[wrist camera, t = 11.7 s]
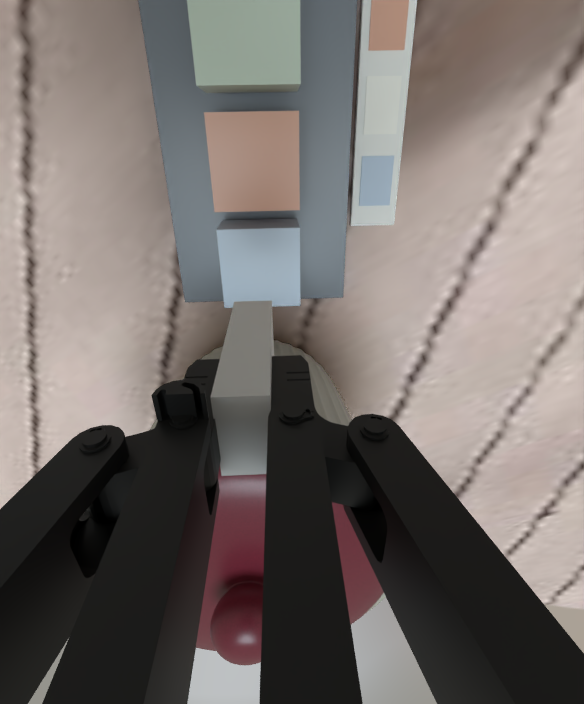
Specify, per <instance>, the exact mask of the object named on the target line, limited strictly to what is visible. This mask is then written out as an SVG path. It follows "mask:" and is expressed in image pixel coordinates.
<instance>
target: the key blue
mask: <svg viewBox="0 0 584 704" xmlns="http://www.w3.org/2000/svg"><path fill="white" fill-rule="evenodd" d="M216 232H217V241H218V251H219V260H220V270H221V279H222V289H223V298H224V308H233V304H234V302H238V301H272V307H274V306H300V226H299V223H298V220H297V219H259V220H222V222H221V223H220V225H219V226H218V228H217V230H216Z"/></svg>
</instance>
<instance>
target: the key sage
mask: <svg viewBox="0 0 584 704" xmlns="http://www.w3.org/2000/svg"><path fill="white" fill-rule="evenodd" d="M187 6H188V15H189V24H190V33H191V42H192V51H193V60H194V70H195V79H196V86H197V87H199V88H200V89H202V90H203V91H204V92H206V93H238V92H297V91H298V89H299V87H300V84H301V46H300V0H187Z"/></svg>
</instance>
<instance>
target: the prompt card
mask: <svg viewBox="0 0 584 704" xmlns="http://www.w3.org/2000/svg"><path fill="white" fill-rule="evenodd" d="M416 6H417V0H361V18H360V37H359V57H358V76H357V96H356V115H355V135H354V154H353V174H352V193H351V213H350V225H351V226H371V225H394V220H395V210H396V201H397V191H398V181H399V171H400V162H401V152H402V142H403V132H404V123H405V113H406V103H407V94H408V84H409V74H410V64H411V55H412V45H413V35H414V26H415V16H416Z"/></svg>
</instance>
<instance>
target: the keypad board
mask: <svg viewBox="0 0 584 704" xmlns="http://www.w3.org/2000/svg"><path fill="white" fill-rule="evenodd" d="M138 2H139V8H140V14H141V21H142V27H143V34H144V40H145V47H146V53H147V60H148V66H149V72H150V79H151V85H152V92H153V98H154V105H155V111H156V118H157V124H158V130H159V137H160V143H161V150H162V156H163V163H164V169H165V176H166V182H167V189H168V195H169V201H170V208H171V214H172V221H173V227H174V234H175V240H176V247H177V253H178V259H179V266H180V272H181V279H182V285H183V292H184V298H185V302H210V301H224V298H223V289H222V279H221V270H220V260H219V251H218V241H217V232H216V230H217V228H218V226H219V225H220V223H221V222H222V220H259V219H297V220H298V223H299V226H300V299H309V298H341V297H343V289H344V268H345V246H346V225H347V204H348V183H349V162H350V141H351V120H352V99H353V78H354V57H355V35H356V14H357V0H300V46H301V84H300V87H299V89H298V91H297V92H238V93H206V92H204V91H203V90H202V89H200V88H199V87H197V86H196V79H195V70H194V60H193V51H192V42H191V33H190V24H189V15H188V6H187V0H138ZM250 111H299V176H300V210H287V211H246V212H214V203H213V194H212V184H211V175H210V165H209V156H208V146H207V137H206V127H205V118H204V112H250Z"/></svg>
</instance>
